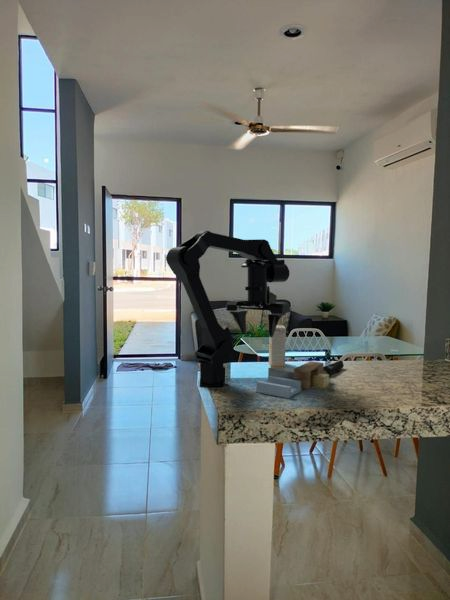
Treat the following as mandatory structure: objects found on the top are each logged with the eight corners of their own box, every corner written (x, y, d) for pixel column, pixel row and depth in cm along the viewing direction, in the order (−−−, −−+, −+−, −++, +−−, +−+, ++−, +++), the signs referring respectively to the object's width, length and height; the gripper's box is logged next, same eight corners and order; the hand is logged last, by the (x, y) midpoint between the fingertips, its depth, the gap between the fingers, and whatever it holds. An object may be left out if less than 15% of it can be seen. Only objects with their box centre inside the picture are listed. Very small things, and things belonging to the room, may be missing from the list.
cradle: (256, 392, 108) (256, 382, 108) (270, 385, 115) (270, 375, 115) (288, 398, 104) (288, 387, 103) (301, 390, 110) (301, 381, 110)
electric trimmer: (346, 370, 137) (347, 360, 137) (328, 378, 124) (329, 368, 124) (335, 368, 139) (335, 359, 139) (316, 376, 127) (317, 366, 126)
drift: (268, 380, 121) (268, 368, 121) (274, 378, 124) (274, 366, 124) (296, 385, 116) (296, 373, 116) (302, 383, 119) (302, 370, 119)
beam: (293, 387, 114) (294, 368, 113) (309, 378, 124) (310, 361, 123) (307, 389, 111) (308, 370, 111) (323, 380, 121) (323, 362, 121)
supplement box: (285, 368, 137) (286, 328, 136) (270, 367, 137) (271, 327, 136) (282, 362, 145) (283, 324, 144) (268, 362, 145) (269, 324, 144)
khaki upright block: (299, 385, 116) (299, 373, 116) (305, 383, 119) (305, 370, 119) (323, 390, 112) (323, 377, 112) (328, 387, 115) (329, 374, 115)
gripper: (298, 282, 125) (297, 334, 126) (244, 281, 135) (244, 329, 136) (281, 284, 115) (281, 340, 117) (225, 282, 126) (225, 334, 127)
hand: (257, 335), depth 124 cm, fingers open, 9 cm apart
